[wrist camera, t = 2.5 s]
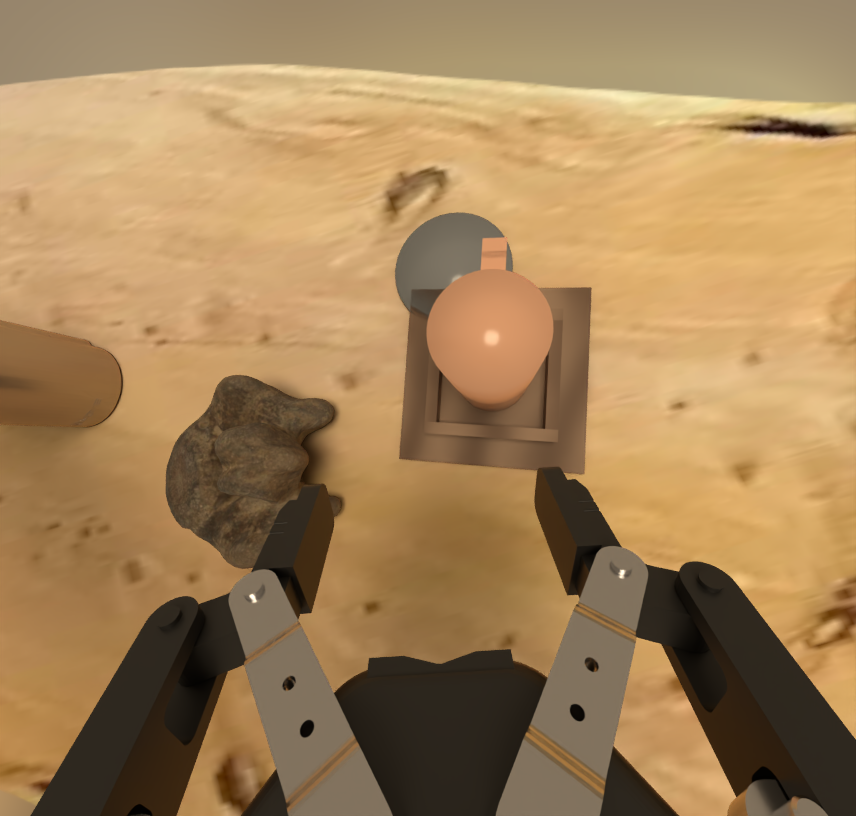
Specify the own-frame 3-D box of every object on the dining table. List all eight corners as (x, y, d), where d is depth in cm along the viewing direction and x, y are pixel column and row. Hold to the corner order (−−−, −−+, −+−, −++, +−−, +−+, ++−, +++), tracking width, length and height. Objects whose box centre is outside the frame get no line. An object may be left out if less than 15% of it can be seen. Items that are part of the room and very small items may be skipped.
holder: (401, 458, 34) (393, 459, 31) (413, 291, 35) (406, 281, 32) (582, 473, 31) (589, 476, 28) (589, 290, 32) (597, 278, 29)
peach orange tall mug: (527, 413, 31) (550, 394, 18) (454, 409, 32) (422, 388, 19) (532, 310, 32) (558, 213, 18) (460, 310, 33) (434, 220, 19)
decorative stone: (153, 392, 33) (244, 347, 25) (265, 402, 42) (358, 371, 34) (152, 578, 30) (253, 594, 22) (271, 545, 39) (374, 548, 31)
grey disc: (374, 273, 36) (372, 270, 35) (457, 193, 35) (457, 189, 34) (447, 352, 34) (446, 351, 33) (538, 270, 33) (538, 267, 32)
